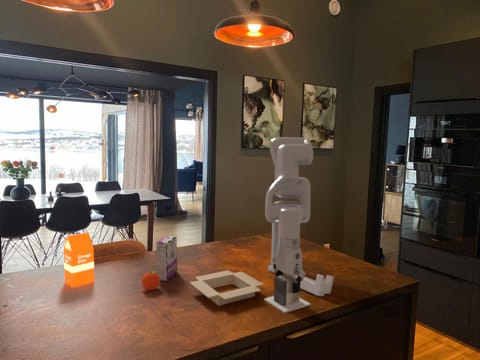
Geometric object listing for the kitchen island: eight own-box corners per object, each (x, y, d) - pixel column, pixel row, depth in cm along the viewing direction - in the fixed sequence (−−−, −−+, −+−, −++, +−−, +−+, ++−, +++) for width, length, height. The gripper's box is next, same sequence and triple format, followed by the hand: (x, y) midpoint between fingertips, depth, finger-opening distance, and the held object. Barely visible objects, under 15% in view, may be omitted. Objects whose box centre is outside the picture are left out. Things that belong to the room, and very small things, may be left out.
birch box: (290, 296, 140) (291, 273, 139) (299, 301, 136) (300, 277, 135) (273, 300, 136) (274, 277, 135) (282, 306, 132) (283, 281, 131)
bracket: (329, 296, 145) (333, 276, 145) (318, 295, 140) (322, 276, 141) (304, 285, 155) (308, 267, 155) (293, 284, 151) (297, 266, 151)
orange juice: (94, 282, 151) (93, 234, 149) (72, 288, 145) (71, 238, 143) (86, 277, 157) (84, 230, 155) (64, 282, 150) (62, 234, 148)
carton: (236, 277, 159) (236, 268, 159) (269, 298, 139) (269, 287, 139) (185, 288, 146) (185, 278, 146) (213, 312, 127) (214, 301, 126)
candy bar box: (166, 271, 165) (166, 235, 163) (177, 272, 164) (177, 235, 162) (156, 280, 154) (155, 241, 153) (167, 281, 153) (167, 242, 152)
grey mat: (288, 293, 144) (288, 291, 144) (310, 305, 134) (310, 303, 134) (263, 299, 138) (263, 298, 138) (284, 312, 128) (284, 311, 127)
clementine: (156, 283, 151) (156, 266, 150) (165, 289, 146) (165, 271, 145) (138, 289, 145) (138, 271, 145) (147, 294, 140) (147, 276, 140)
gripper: (313, 246, 128) (311, 294, 130) (281, 234, 143) (280, 277, 145) (296, 249, 124) (295, 298, 126) (266, 237, 139) (264, 281, 141)
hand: (287, 287), depth 135 cm, fingers open, 9 cm apart
